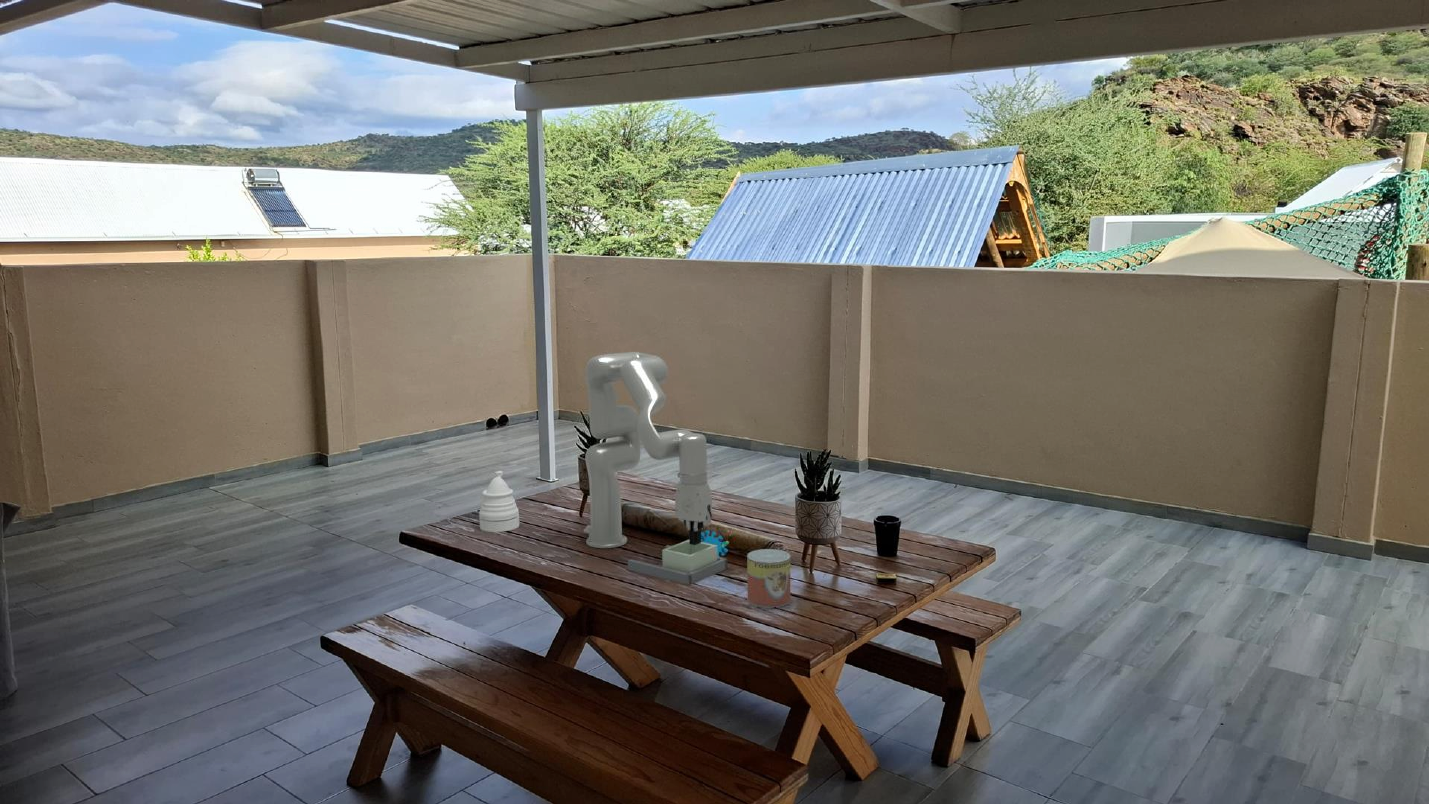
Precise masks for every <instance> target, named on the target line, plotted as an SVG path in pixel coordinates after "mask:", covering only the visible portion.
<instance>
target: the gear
mask: <svg viewBox="0 0 1429 804" xmlns="http://www.w3.org/2000/svg"><path fill="white" fill-rule="evenodd" d="M716 535H717V532H716V531H711V535H710V530H708V529H707V530H706V529H705V531H701V542H703V543H708V544H713V545H717V557H721V556H725V555H726V553H728V551H729V550H728V548H726V547H727V546H728V545H729V544H730V541H728V540H726V541H723V542H722V540H723V539H724V538H723V536H722V535H718V536H717V537H715V536H716Z"/></svg>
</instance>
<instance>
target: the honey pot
mask: <svg viewBox="0 0 1429 804" xmlns="http://www.w3.org/2000/svg"><path fill="white" fill-rule="evenodd" d="M494 473H495V476H496V477H494V478H492V480H490V482H489V484H488V486H487V488H486V489H484V490H483V491H482V492H481V494H482V496H483V499H482V501H481V505H480V510H479V512H478V514H479V515H478V516H479V529H480V530H481V531H484V532H492V533H499V532H500V533H501V532H507V531H511V530H516V529H517V528H519V527H520V515H519V513H520V512H519V511H520V510H519V507H517V503H516V500H515V498H514V496H513V494H514V490H513V488H509V486H508V484H507V482H506V481H505V480H504V479H503V478H502V477H503V475H504V471H503V470H498V471H495V472H494Z"/></svg>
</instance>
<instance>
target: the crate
mask: <svg viewBox="0 0 1429 804" xmlns="http://www.w3.org/2000/svg"><path fill="white" fill-rule="evenodd" d="M670 546H671V547H669V548H666V549H665V548H663V549H662V550H661V552H662V553H661V554H662V557H661V558H662V561H661V562H662V567H664V568H668V569H672V570H676V571H680V572H684V573H690V572H693V571H695V570H697V569H700V568H702V567H704V566H707V565H709V564H711V563H714V562H716V561H717V545H713V544H708V543H703V542H701V543H699V544H697V545H693V544H692V545H691V544H690V541H689V539H687V540H685V541H682V542H680V543H679V542H678V543H677V544H674V545H670Z"/></svg>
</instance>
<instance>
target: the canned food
mask: <svg viewBox="0 0 1429 804" xmlns="http://www.w3.org/2000/svg"><path fill="white" fill-rule="evenodd" d="M791 556H792V555H791V554H790V553H789V552H788V551H785V550H780V549H776V548H775V549H773V548H763V549H756V550H752V551H750V552H748V553H747V555H746V558H747V560H746V561H747V564H746V565H747V569H746V571H747V572H746V573H747V577H746V579H747V581H746V582H747V598H746V600H747V603H748V604H750V605H751V606H753V607H757V608H758V607H759V608H763V609H774V607H776V608H780V607H779V606H782V607H785V606H787V605H789V604H790V603H791V600H792V599H791V558H792V557H791ZM788 603H789V604H788ZM786 604H787V605H786ZM784 605H785V606H784Z"/></svg>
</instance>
